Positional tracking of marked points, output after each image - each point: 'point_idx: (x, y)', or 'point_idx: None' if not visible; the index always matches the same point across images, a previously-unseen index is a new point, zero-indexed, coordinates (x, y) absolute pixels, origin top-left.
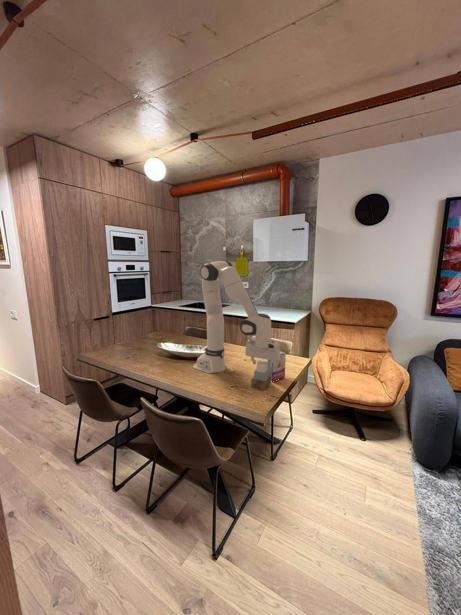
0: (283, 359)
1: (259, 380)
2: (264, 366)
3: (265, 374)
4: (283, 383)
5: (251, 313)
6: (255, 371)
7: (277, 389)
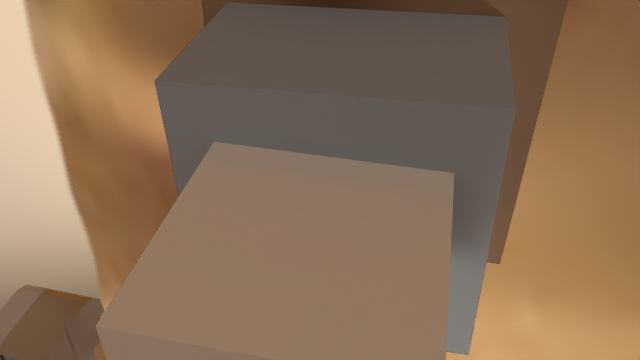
0: None
1: (366, 6)
2: (152, 268)
3: (172, 75)
4: (134, 208)
5: None
6: (478, 145)
7: (120, 27)
